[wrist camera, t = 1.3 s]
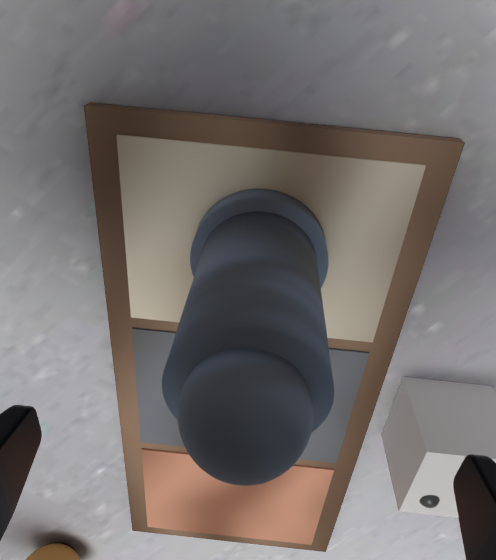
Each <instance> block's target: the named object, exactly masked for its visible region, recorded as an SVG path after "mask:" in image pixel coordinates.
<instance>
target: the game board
mask: <svg viewBox="0 0 496 560" xmlns="http://www.w3.org/2000/svg"><path fill="white" fill-rule="evenodd" d="M84 110H85V119H86V127H87V136H88V145H89V154H90V162H91V171H92V180H93V189H94V197H95V206H96V215H97V224H98V232H99V241H100V250H101V259H102V267H103V276H104V285H105V294H106V303H107V311H108V320H109V329H110V338H111V346H112V355H113V364H114V373H115V381H116V390H117V399H118V408H119V416H120V425H121V434H122V443H123V452H124V460H125V469H126V478H127V487H128V495H129V504H130V513H131V522H132V530H133V531H141V532H150V533H159V534H168V535H178V536H187V537H196V538H205V539H214V540H223V541H232V542H241V543H250V544H259V545H269V546H278V547H287V548H296V549H305V550H314V551H323V552H326V549H327V546H328V543H329V541H330V538H331V535H332V532H333V529H334V526H335V523H336V520H337V517H338V514H339V511H340V508H341V505H342V502H343V499H344V496H345V493H346V491H347V488H348V485H349V482H350V479H351V476H352V473H353V470H354V467H355V464H356V461H357V458H358V455H359V452H360V449H361V446H362V444H363V441H364V438H365V435H366V432H367V429H368V426H369V423H370V420H371V417H372V414H373V411H374V408H375V405H376V402H377V399H378V396H379V394H380V391H381V388H382V385H383V382H384V379H385V376H386V373H387V370H388V367H389V364H390V361H391V358H392V355H393V352H394V349H395V347H396V344H397V341H398V338H399V335H400V332H401V329H402V326H403V323H404V320H405V317H406V314H407V311H408V308H409V305H410V302H411V299H412V297H413V294H414V291H415V288H416V285H417V282H418V279H419V276H420V273H421V270H422V267H423V264H424V261H425V258H426V255H427V252H428V250H429V247H430V244H431V241H432V238H433V235H434V232H435V229H436V226H437V223H438V220H439V217H440V214H441V211H442V208H443V205H444V202H445V200H446V197H447V194H448V191H449V188H450V185H451V182H452V179H453V176H454V173H455V170H456V167H457V164H458V161H459V158H460V155H461V153H462V150H463V147H464V144H465V142H463V141H462V140H461V139H459V138H449V137H439V136H429V135H418V134H408V133H398V132H388V131H377V130H367V129H357V128H347V127H336V126H326V125H316V124H306V123H296V122H285V121H275V120H265V119H255V118H244V117H234V116H224V115H214V114H203V113H193V112H183V111H173V110H162V109H152V108H142V107H132V106H121V105H111V104H101V103H91V102H90V103H88V104H86V105H84ZM257 188H258V189H271V190H276V191H280V192H283V193H286V194H288V195H290V196H293V197H294V198H296V199H298V200H299V201H301V202H302V203H303V204H305V205H306V206H307V207H308V208H309V209H310V210H311V211H312V212H313V213H314V215H315V216H316V218H317V219H318V221H319V223H320V224H321V226H322V229H323V232H324V235H325V240H326V246H327V251H328V272H327V275H326V279H325V281H324V283H323V286H322V287H321V295H322V302H323V309H324V317H325V324H326V331H327V339H328V346H329V353H330V361H331V368H332V375H333V383H334V401H333V405H332V408H331V411H330V413H329V414H328V416H327V418H326V419H325V420H324V422H323V423H322V424H321V425H320V426H319V427H318V428H317V429H316V430H315V431H314V432H312V433H311V436H310V439H309V441H308V444H307V446H306V448H305V450H304V452H303V453H302V455H301V457H300V458H299V459H298V460H297V462H296V463H295V464H294V465H293V466H292V467H291V468H290V469H289V470H288V471H286V472H285V473H284V474H282V475H281V476H279V477H277V478H275V479H273V480H271V481H269V482H266V483H263V484H258V485H250V486H239V485H233V484H229V483H225V482H222V481H220V480H217V479H215V478H213V477H212V476H210V475H209V474H207V473H206V472H205V471H203V470H202V469H201V468H200V467H199V466H198V465H197V464H196V463H195V462H194V461H193V459H192V458H191V457H190V455H189V454H188V452H187V450H186V448H185V446H184V444H183V441H182V439H181V436H180V432H179V427H178V420H177V419H176V418H175V417H174V416H173V414H172V413H171V411H170V410H169V408H168V406H167V404H166V402H165V400H164V396H163V392H162V376H163V372H164V368H165V365H166V362H167V359H168V356H169V353H170V350H171V346H172V343H173V340H174V337H175V334H176V331H177V328H178V325H179V322H180V318H181V315H182V312H183V309H184V306H185V303H186V300H187V297H188V293H189V290H190V287H191V284H192V281H193V278H194V277H193V274H192V270H191V266H190V252H191V247H192V242H193V240H194V237H195V234H196V232H197V229H198V227H199V224H200V222H201V220H202V218H203V217H204V215H205V214H206V213H207V211H208V210H209V209H210V208H211V207H212V206H213V205H214V204H215V203H217V202H218V201H220V200H221V199H222V198H224V197H226V196H228V195H230V194H233V193H236V192H238V191H242V190H247V189H257Z"/></svg>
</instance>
